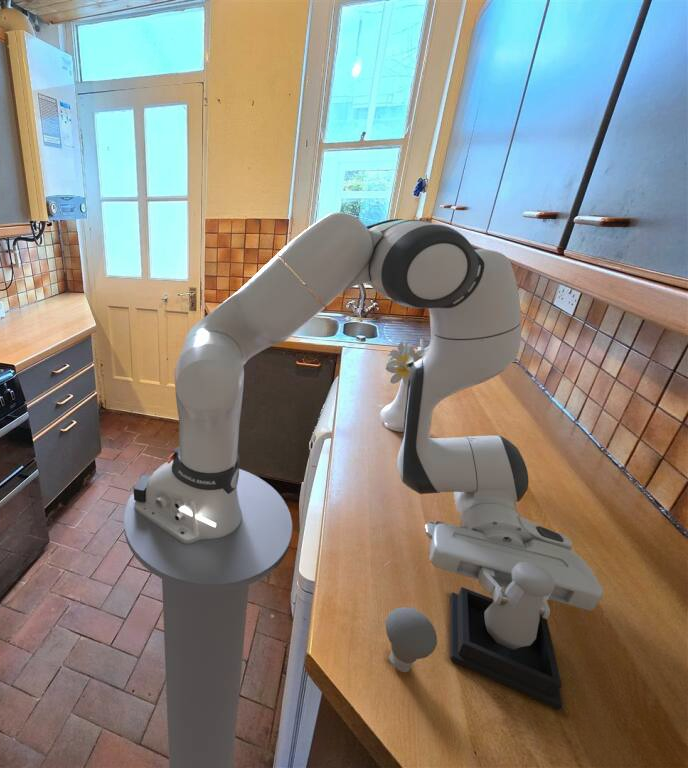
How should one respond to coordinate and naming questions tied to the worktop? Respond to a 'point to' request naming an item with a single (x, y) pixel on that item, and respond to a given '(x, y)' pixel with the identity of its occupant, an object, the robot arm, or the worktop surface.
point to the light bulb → (409, 637)
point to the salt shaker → (520, 607)
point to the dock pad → (503, 651)
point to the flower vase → (404, 363)
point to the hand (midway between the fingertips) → (522, 608)
